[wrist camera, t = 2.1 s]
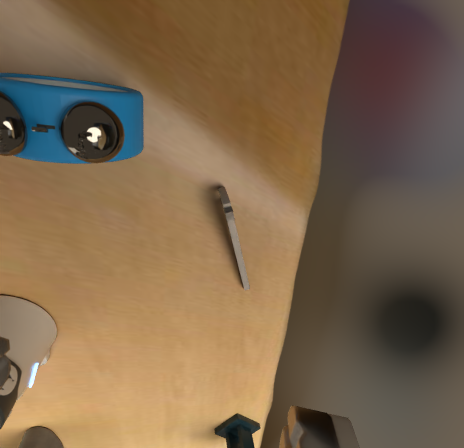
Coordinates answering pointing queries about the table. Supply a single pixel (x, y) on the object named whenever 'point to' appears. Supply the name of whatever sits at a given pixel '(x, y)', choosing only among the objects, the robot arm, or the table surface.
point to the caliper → (234, 235)
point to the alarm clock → (68, 120)
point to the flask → (40, 439)
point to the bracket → (238, 431)
